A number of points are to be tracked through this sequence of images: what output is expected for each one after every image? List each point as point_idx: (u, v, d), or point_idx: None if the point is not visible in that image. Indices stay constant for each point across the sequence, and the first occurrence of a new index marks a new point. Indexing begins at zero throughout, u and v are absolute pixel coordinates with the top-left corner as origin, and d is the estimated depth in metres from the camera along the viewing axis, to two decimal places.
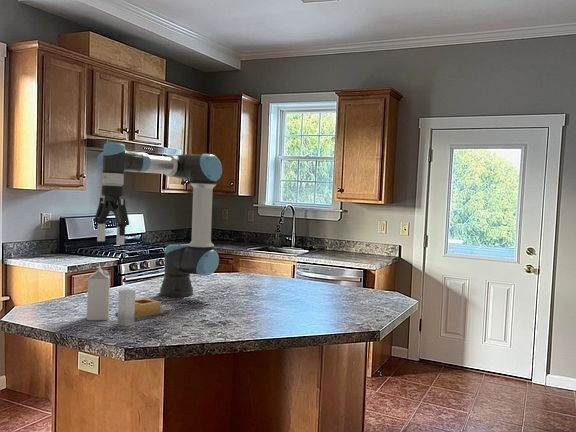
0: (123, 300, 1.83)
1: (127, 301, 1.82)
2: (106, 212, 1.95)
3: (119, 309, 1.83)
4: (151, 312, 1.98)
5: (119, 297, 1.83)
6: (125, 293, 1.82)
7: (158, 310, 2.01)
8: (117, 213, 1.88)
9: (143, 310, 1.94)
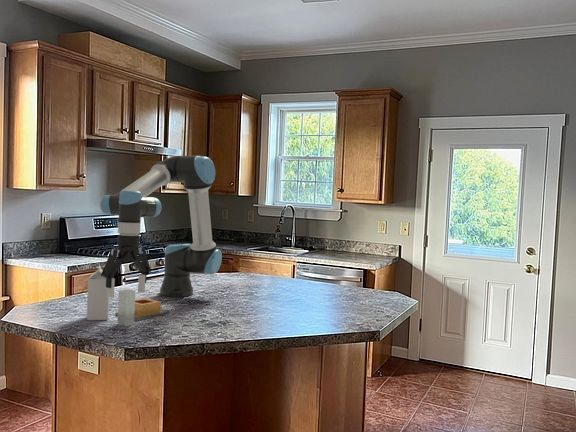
0: (123, 300, 1.83)
1: (127, 301, 1.82)
2: (135, 262, 1.87)
3: (119, 309, 1.83)
4: (151, 312, 1.98)
5: (119, 297, 1.83)
6: (125, 293, 1.82)
7: (158, 310, 2.01)
8: (114, 264, 1.80)
9: (143, 310, 1.94)
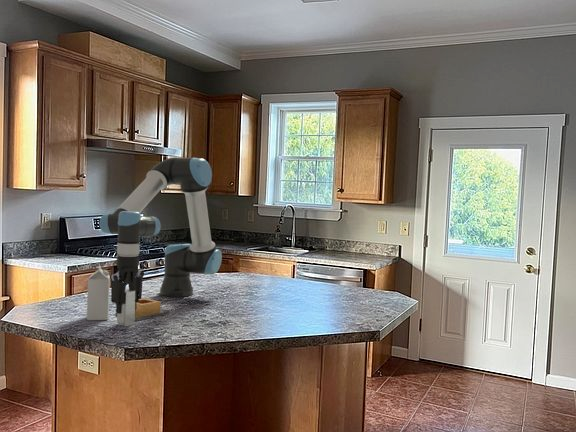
0: (123, 300, 1.83)
1: (127, 301, 1.82)
2: (130, 285, 1.86)
3: None
4: (151, 312, 1.98)
5: None
6: (125, 293, 1.82)
7: (158, 310, 2.01)
8: (119, 288, 1.82)
9: (143, 310, 1.94)
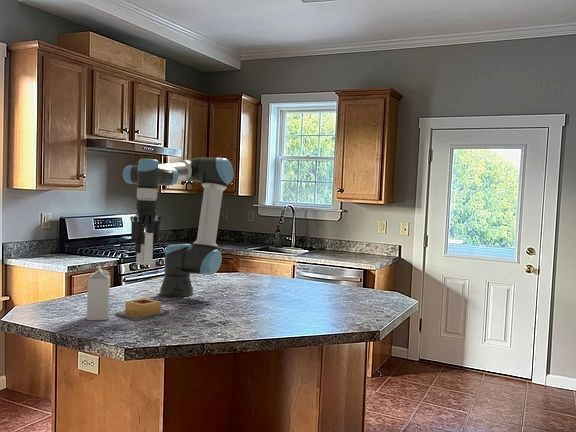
0: (142, 241, 1.97)
1: (146, 242, 1.97)
2: (148, 228, 2.00)
3: None
4: (151, 312, 1.98)
5: None
6: (144, 234, 1.96)
7: (158, 310, 2.01)
8: (138, 230, 1.97)
9: (143, 310, 1.94)
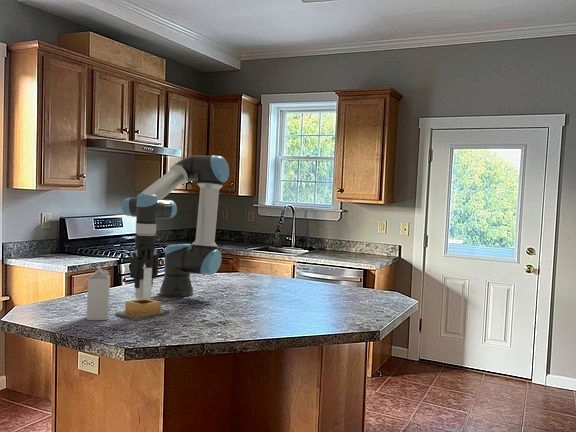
0: None
1: (145, 277, 1.98)
2: (147, 262, 2.01)
3: None
4: (151, 312, 1.98)
5: None
6: (143, 269, 1.97)
7: (158, 310, 2.01)
8: (137, 265, 1.97)
9: (143, 310, 1.94)
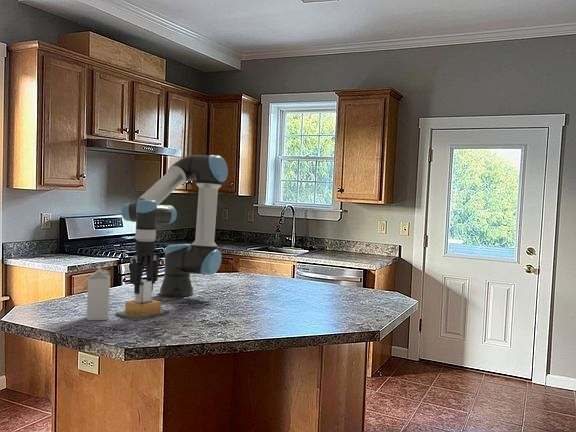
0: None
1: (144, 290, 1.98)
2: (147, 268, 2.01)
3: None
4: (151, 312, 1.98)
5: None
6: (142, 283, 1.97)
7: (158, 310, 2.01)
8: (137, 270, 1.98)
9: (143, 310, 1.94)
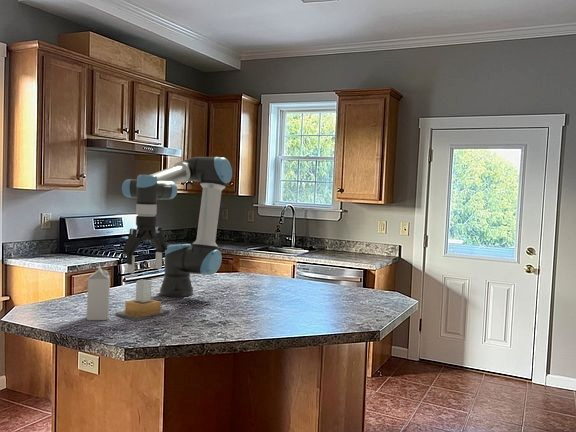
0: (140, 290, 1.98)
1: (144, 290, 1.98)
2: (153, 241, 2.03)
3: (137, 297, 1.99)
4: (151, 312, 1.98)
5: (137, 286, 1.99)
6: (142, 283, 1.97)
7: (158, 310, 2.01)
8: (133, 242, 1.95)
9: (143, 310, 1.94)
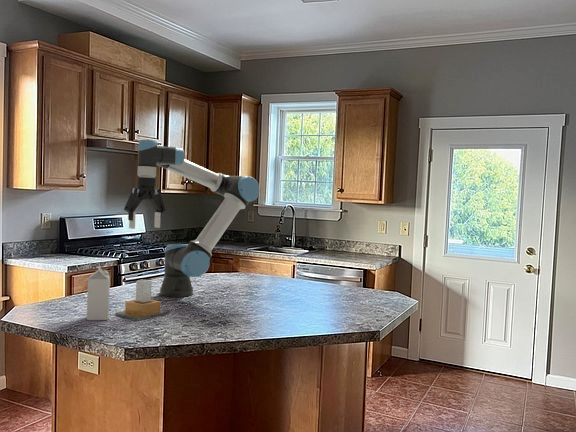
0: (140, 290, 1.98)
1: (144, 290, 1.98)
2: (152, 201, 2.21)
3: (137, 297, 1.99)
4: (151, 312, 1.98)
5: (137, 286, 1.99)
6: (142, 283, 1.97)
7: (158, 310, 2.01)
8: (135, 201, 2.14)
9: (143, 310, 1.94)
